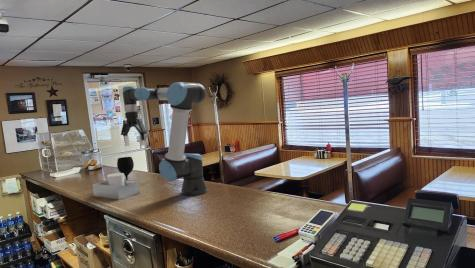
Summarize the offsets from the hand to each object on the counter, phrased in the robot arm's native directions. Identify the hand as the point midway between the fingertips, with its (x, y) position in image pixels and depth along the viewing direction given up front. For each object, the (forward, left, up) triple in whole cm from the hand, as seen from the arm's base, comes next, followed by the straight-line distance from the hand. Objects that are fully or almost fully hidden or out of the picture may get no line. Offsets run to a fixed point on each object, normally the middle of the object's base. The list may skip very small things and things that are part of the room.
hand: (134, 145), depth 202 cm
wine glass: (+17, -5, -29) cm, 34 cm away
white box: (+6, +11, -28) cm, 31 cm away
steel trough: (+7, +11, -29) cm, 32 cm away
